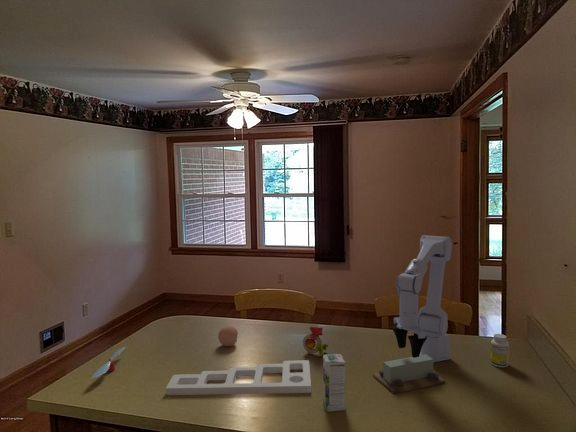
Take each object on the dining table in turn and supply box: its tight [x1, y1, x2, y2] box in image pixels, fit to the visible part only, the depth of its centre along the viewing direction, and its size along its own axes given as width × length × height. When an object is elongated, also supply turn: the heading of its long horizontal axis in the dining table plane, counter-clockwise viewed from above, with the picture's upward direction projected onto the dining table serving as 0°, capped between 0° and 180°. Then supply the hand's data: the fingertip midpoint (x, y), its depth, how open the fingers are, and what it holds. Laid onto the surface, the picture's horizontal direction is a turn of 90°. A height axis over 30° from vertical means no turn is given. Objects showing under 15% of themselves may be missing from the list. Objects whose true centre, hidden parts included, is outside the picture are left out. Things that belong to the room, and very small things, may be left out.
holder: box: [165, 359, 312, 396], centre depth 139 cm, size 45×18×3 cm, turn 89°
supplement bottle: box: [490, 333, 510, 368], centre depth 144 cm, size 6×6×10 cm
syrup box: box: [322, 353, 346, 413], centre depth 121 cm, size 6×6×14 cm
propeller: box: [91, 346, 127, 379], centre depth 148 cm, size 4×25×4 cm, turn 177°
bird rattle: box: [302, 326, 329, 357], centre depth 157 cm, size 6×11×9 cm
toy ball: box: [217, 325, 239, 347], centre depth 167 cm, size 8×8×8 cm
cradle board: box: [372, 369, 446, 395], centre depth 136 cm, size 19×12×2 cm, turn 108°
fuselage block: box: [382, 354, 434, 384], centre depth 136 cm, size 16×4×6 cm, turn 108°
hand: (408, 352), depth 135 cm, fingers open, 7 cm apart
